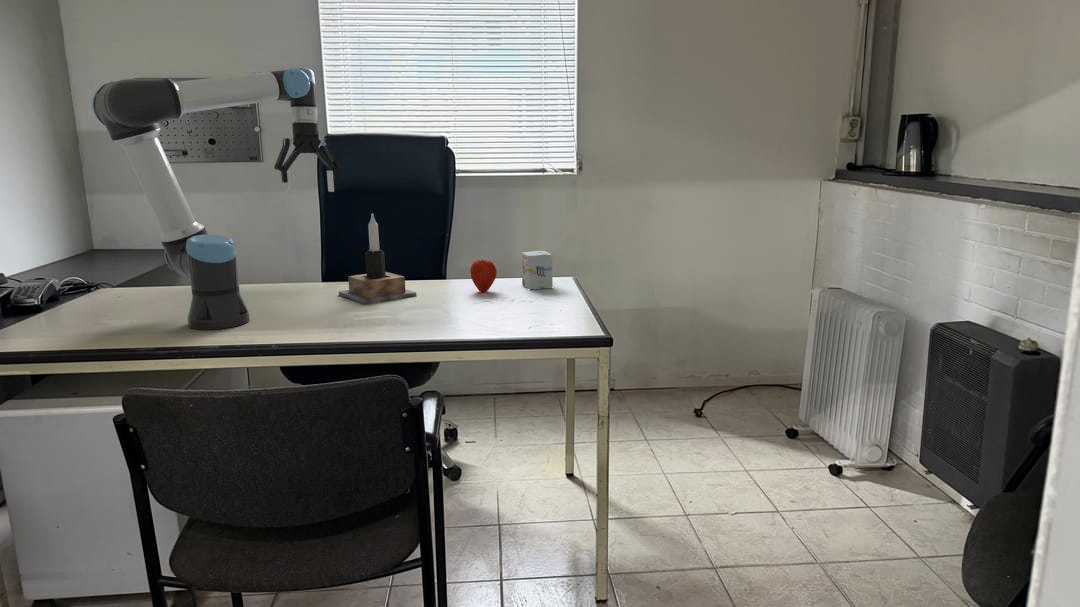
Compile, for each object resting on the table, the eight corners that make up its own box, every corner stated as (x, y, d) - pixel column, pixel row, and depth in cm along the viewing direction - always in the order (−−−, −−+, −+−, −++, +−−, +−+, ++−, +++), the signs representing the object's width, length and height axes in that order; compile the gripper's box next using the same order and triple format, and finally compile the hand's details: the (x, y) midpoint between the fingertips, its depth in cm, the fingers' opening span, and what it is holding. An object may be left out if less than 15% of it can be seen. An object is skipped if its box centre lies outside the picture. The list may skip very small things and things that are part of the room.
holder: (364, 304, 207) (363, 284, 205) (338, 295, 220) (337, 276, 219) (416, 295, 218) (415, 276, 217) (388, 287, 232) (387, 269, 230)
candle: (387, 290, 221) (383, 212, 216) (382, 293, 216) (377, 214, 211) (372, 290, 222) (367, 212, 216) (366, 293, 217) (361, 214, 211)
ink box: (521, 285, 234) (521, 251, 232) (545, 283, 237) (545, 250, 234) (528, 290, 226) (528, 254, 224) (553, 288, 229) (553, 253, 226)
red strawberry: (498, 289, 228) (498, 257, 226) (494, 294, 220) (493, 261, 218) (473, 288, 229) (472, 256, 227) (468, 294, 221) (467, 261, 218)
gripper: (268, 120, 197) (274, 195, 202) (348, 122, 213) (353, 191, 218) (258, 121, 202) (265, 193, 207) (338, 123, 218) (342, 190, 223)
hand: (310, 192), depth 212 cm, fingers open, 13 cm apart
